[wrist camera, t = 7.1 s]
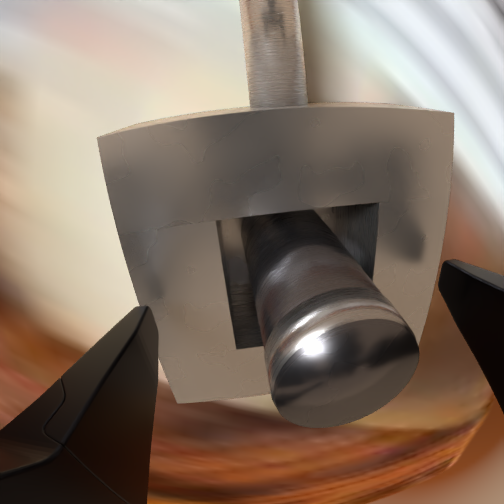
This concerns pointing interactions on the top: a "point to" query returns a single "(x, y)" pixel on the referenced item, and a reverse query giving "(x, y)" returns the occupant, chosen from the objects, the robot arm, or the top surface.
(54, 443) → the robot arm
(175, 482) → the top surface
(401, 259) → the grey holed paddle
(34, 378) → the top surface
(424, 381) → the top surface
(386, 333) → the dark metal cylinder
